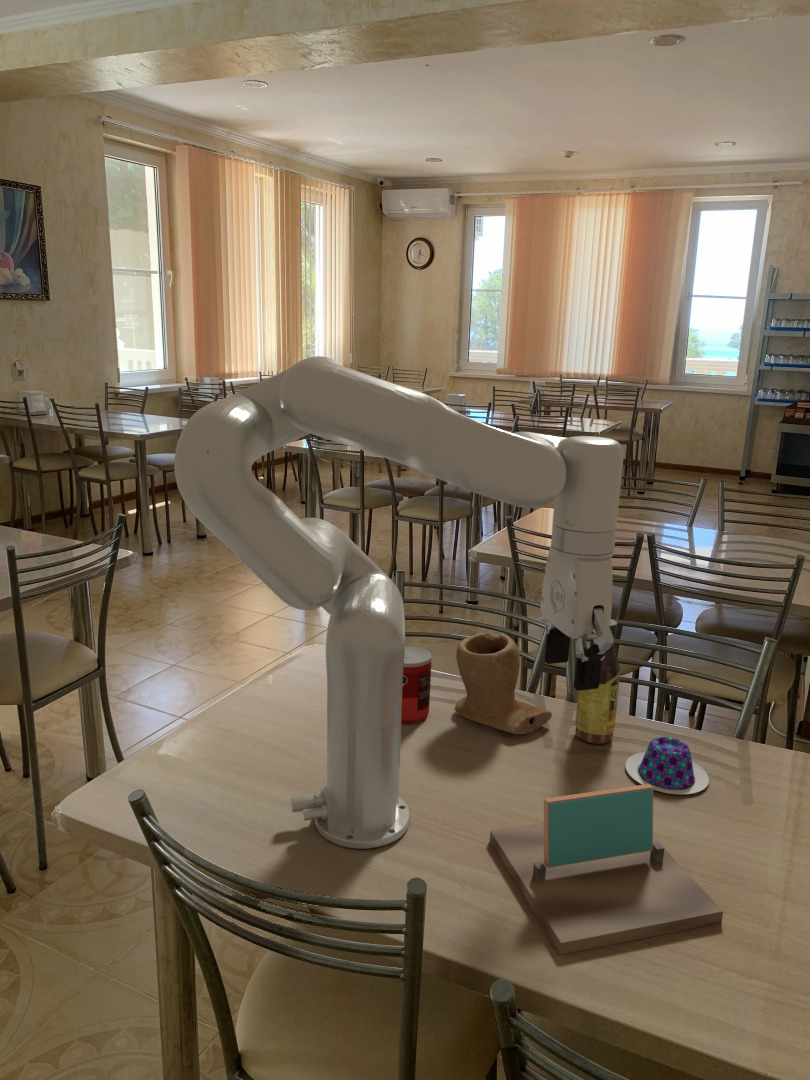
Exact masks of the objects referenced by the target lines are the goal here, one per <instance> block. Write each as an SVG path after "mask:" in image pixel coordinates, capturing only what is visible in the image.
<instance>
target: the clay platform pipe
mask: <svg viewBox="0 0 810 1080" xmlns="http://www.w3.org/2000/svg"><path fill="white" fill-rule="evenodd" d="M455 657H456V662H457V663H456V664H457V668H458V671H459V676H460V678H461V680H462V682H463V683H462V684H464V689H465V692H466V696H464V697H462V698H461V699H459V700H458V701H456V704H455V706H454V711H455V712H456V714H458V715H459V716H461V717H463V718H465V719H468V720H470V721H473V722H476V723H478V724H480V725H481V724H482V725H484V726H487V727H491V728H494V729H497V730H500V731H503V732H506V733H510V734H512V735H513V734H514V735H526V734H531V733H532V732H534V731H536V730H538V729H540V728H541V727H543V726H545V725H546V724H547V723H548V721H550V720H551V718H552V716H553V714H552V711H549V710H546V709H544V708H540V707H538V706H535V705H532V704H529V703H526V702H524V701H521V700H517V699H516V698H515V691H516V686H517V682H518V678H519V673H520V665H521V663H520V662H521V660H520V659H521V658H520V651H519V647H518V645H517V643H516V642H515V641H514V639H513V638H511V637H510V636H508V635H506V634H501V633H499V634H494V633H489V632H481V633H475V634H473V635H469V636H468V637H466V638H464V639H462V640H461V641H460V642H459V644H458V645H457V648H456V655H455Z"/></svg>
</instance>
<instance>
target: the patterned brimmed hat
mask: <svg viewBox="0 0 810 1080" xmlns="http://www.w3.org/2000/svg"><path fill="white" fill-rule="evenodd" d="M625 770H626V772H627V773H628V775H629V776H630V777H631V778H632V779H633V780H634V781H636V782H637V783H639V785H645V784H650V785H651V786H653V791H657V792H660V793H664V794H665V793H666V794H672V795H691V794H696V793H699V792H701V791H703V790H705V789H706V788H707V787H708V785H709V783H710V782H709V781H710V778H709V775H708V774H707V772H706V771H705V769H704V768H703V767H701V766H700V765H699V764H697V763H696V762H695V761H693V758H692V752H691V750H690V747H689V745H688V744H687V743H685V742H683V741H681V740H679V739H678V738H674V737H668V736H659V737H655V738H652V739H651V740H650V742H649V743H648V745H647V747H646V750H645V751H642V752H638V753H637V752H636V753H635V754H633V755H631V756H630V757H628V758H627V760H626V761H625ZM641 776H642V777H644V778H642V777H641ZM656 785H657V786H656ZM690 785H692V786H690ZM689 786H690V787H689Z"/></svg>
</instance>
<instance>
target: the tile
mask: <svg viewBox="0 0 810 1080" xmlns="http://www.w3.org/2000/svg"><path fill="white" fill-rule="evenodd" d="M650 784H651V783H649V784H645V785H642V784H639V785H632V786H626V787H618V788H610V789H603V790H597V791H590V792H589V791H588V792H583V793H582V792H581V793H575V794H568V795H560V796H553V797H546V798H543V823H544V865H545V866H546V867H547V868H551V867H557V866H563V865H569V864H575V863H581V862H587V861H593V860H599V859H605V858H611V857H617V856H623V855H629V854H635V853H641V852H647V851H653V837H654V835H653V832H654V831H653V830H654V789H653V786H651V785H652V784H651V785H650Z"/></svg>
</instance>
